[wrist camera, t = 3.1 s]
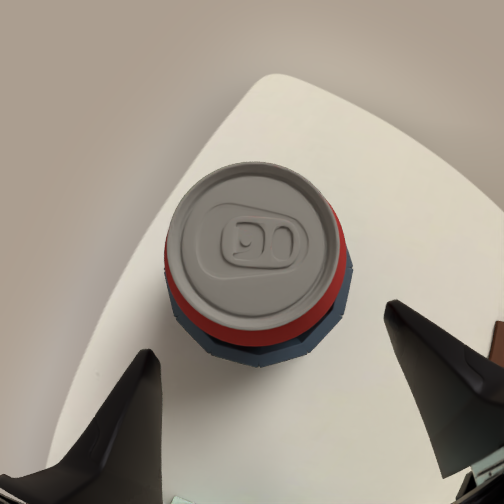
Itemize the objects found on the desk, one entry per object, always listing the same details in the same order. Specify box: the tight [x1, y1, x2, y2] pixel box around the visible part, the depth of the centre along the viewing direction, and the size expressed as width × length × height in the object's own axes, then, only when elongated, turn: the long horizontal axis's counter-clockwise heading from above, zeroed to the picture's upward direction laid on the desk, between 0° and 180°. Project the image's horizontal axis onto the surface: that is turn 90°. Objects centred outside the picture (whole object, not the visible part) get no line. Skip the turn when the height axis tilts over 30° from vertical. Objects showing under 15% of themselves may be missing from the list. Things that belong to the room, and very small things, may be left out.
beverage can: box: [164, 162, 346, 347], centre depth 14 cm, size 7×7×12 cm
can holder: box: [164, 246, 353, 368], centre depth 17 cm, size 10×10×6 cm
